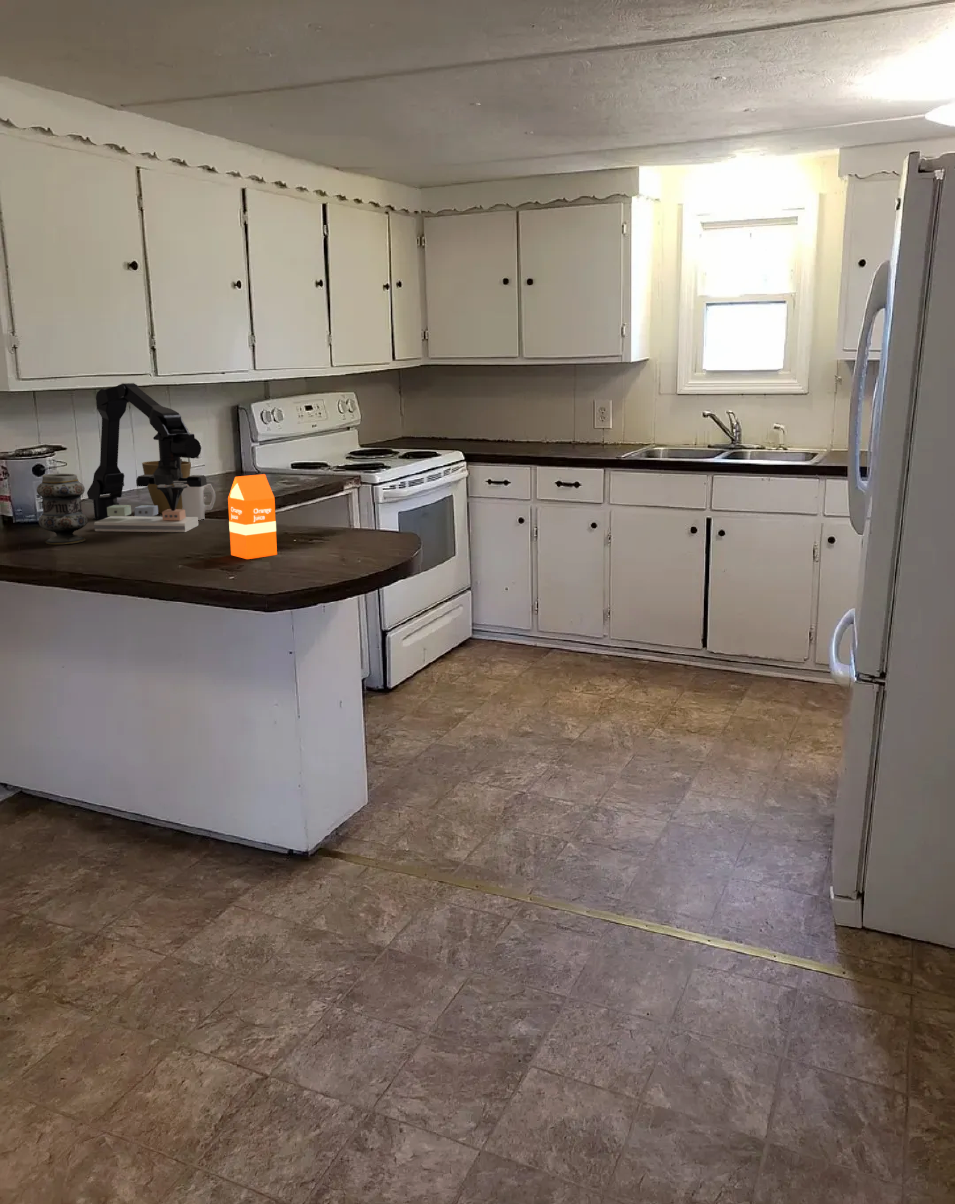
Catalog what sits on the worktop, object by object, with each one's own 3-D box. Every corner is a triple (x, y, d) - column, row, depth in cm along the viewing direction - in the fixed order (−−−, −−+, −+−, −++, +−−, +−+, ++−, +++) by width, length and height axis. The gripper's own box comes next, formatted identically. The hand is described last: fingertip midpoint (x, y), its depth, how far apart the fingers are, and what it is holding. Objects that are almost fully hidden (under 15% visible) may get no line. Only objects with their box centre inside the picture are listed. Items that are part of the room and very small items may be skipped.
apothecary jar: (98, 539, 267) (93, 473, 263) (69, 546, 256) (63, 477, 252) (61, 536, 270) (54, 471, 266) (30, 544, 259) (23, 476, 255)
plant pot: (156, 517, 305) (152, 465, 301) (138, 511, 316) (134, 461, 313) (201, 512, 314) (198, 462, 311) (182, 507, 326) (179, 459, 322)
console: (94, 531, 279) (93, 522, 279) (111, 524, 291) (111, 515, 291) (184, 532, 279) (184, 523, 278) (198, 525, 291) (197, 516, 290)
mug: (182, 521, 297) (180, 482, 294) (182, 518, 303) (180, 479, 300) (217, 520, 300) (214, 481, 297) (216, 517, 306) (214, 478, 303)
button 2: (134, 516, 282) (134, 507, 281) (141, 513, 287) (140, 505, 286) (151, 516, 281) (151, 508, 281) (158, 513, 287) (157, 505, 286)
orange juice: (230, 555, 247) (226, 475, 242) (260, 550, 253) (257, 472, 248) (247, 559, 241) (243, 478, 237) (277, 554, 247) (274, 475, 243)
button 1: (107, 516, 282) (106, 507, 281) (114, 513, 287) (113, 505, 286) (124, 516, 282) (123, 507, 281) (131, 513, 287) (130, 505, 286)
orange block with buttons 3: (162, 520, 282) (161, 511, 281) (168, 517, 287) (168, 509, 286) (179, 520, 281) (179, 512, 281) (185, 517, 287) (185, 509, 286)
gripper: (126, 458, 272) (131, 514, 276) (193, 459, 272) (196, 515, 276) (141, 455, 283) (145, 508, 287) (205, 455, 283) (208, 509, 286)
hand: (173, 510), depth 284 cm, fingers closed, pressing on orange block with buttons 3
